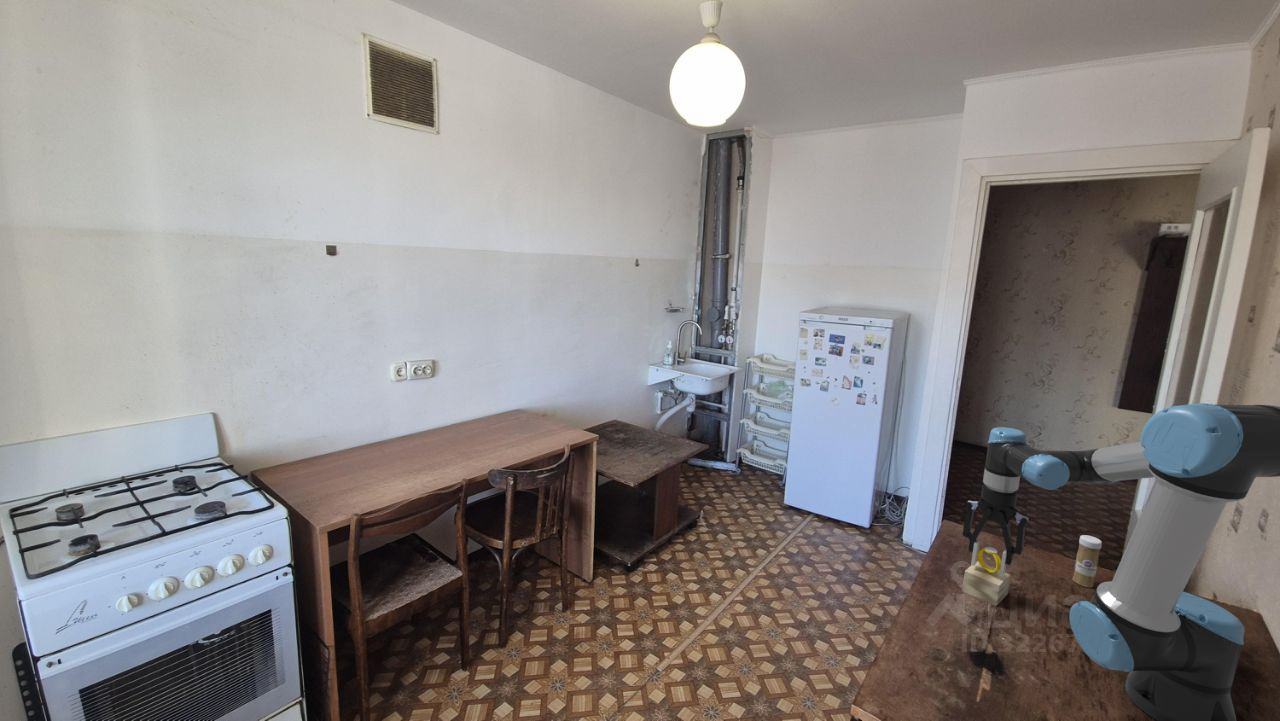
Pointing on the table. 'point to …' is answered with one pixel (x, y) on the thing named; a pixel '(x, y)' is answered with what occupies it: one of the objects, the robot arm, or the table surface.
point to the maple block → (986, 584)
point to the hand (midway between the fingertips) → (987, 568)
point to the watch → (997, 558)
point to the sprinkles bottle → (1087, 560)
